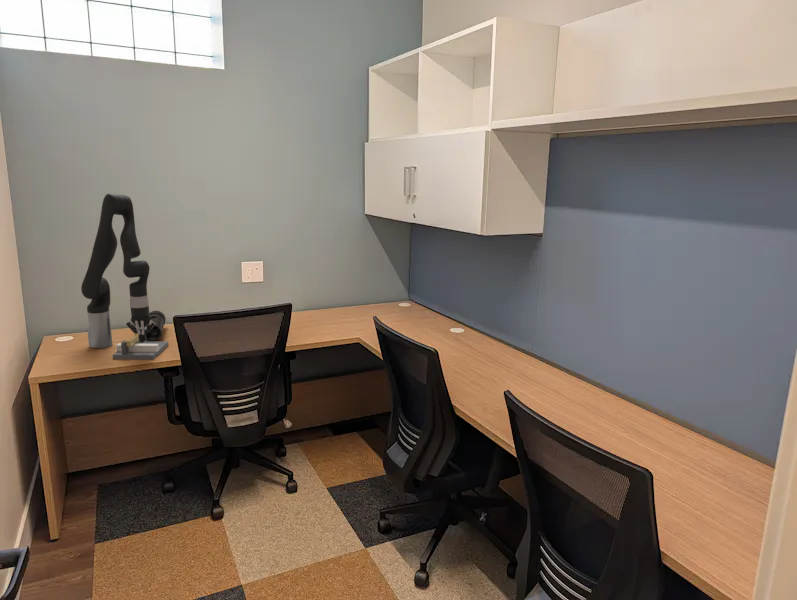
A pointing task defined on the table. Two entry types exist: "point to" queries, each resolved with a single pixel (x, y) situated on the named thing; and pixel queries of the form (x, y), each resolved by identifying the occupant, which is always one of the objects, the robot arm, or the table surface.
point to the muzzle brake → (156, 326)
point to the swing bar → (132, 340)
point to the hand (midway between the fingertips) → (142, 341)
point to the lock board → (142, 354)
